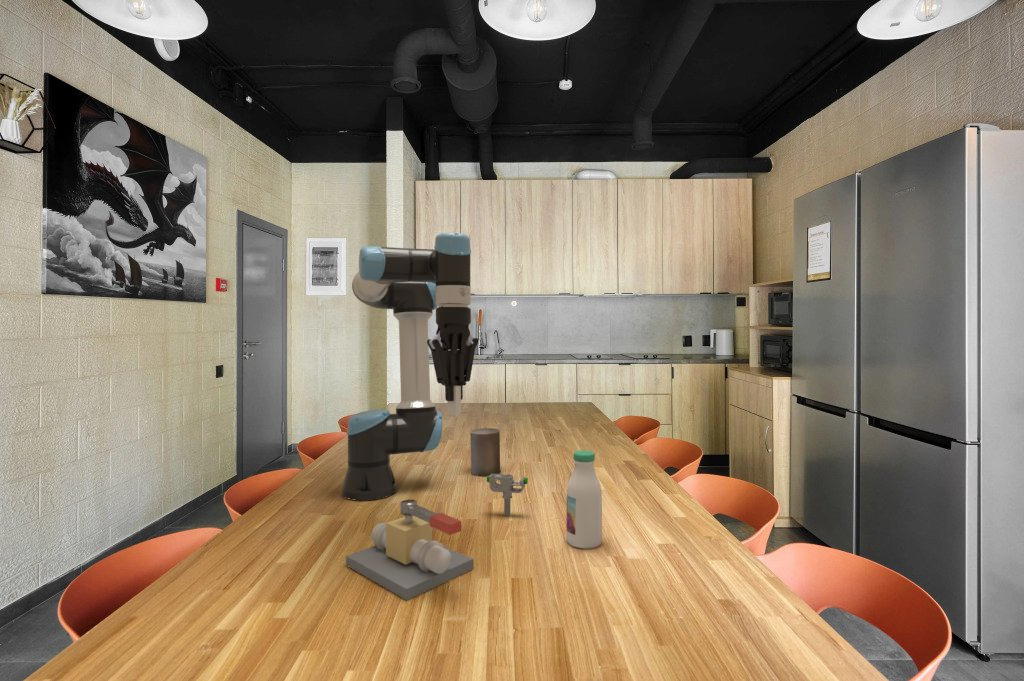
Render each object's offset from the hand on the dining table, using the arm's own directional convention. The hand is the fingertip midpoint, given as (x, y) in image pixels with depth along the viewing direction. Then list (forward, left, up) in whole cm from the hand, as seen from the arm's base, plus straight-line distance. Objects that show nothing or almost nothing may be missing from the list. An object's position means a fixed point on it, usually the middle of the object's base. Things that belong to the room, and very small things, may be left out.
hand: (454, 415), depth 114 cm
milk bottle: (+20, +20, -29) cm, 40 cm away
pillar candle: (-36, +45, -29) cm, 64 cm away
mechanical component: (-4, +21, -29) cm, 36 cm away
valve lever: (+8, -13, -17) cm, 23 cm away
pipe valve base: (+1, -13, -28) cm, 31 cm away
